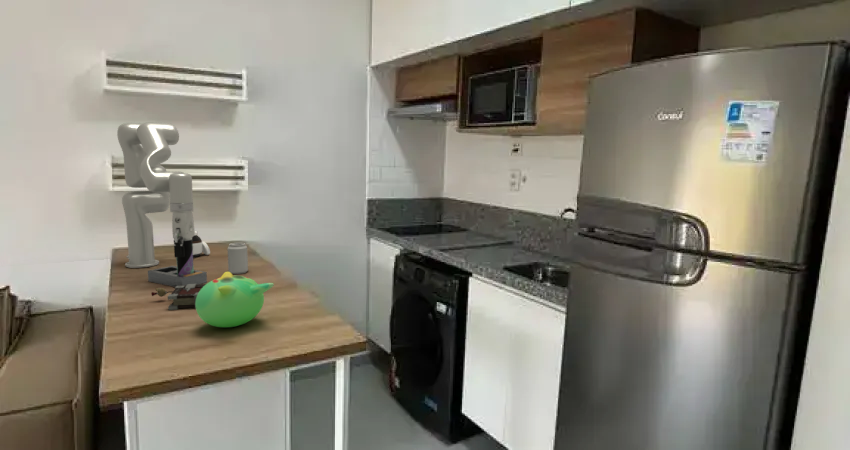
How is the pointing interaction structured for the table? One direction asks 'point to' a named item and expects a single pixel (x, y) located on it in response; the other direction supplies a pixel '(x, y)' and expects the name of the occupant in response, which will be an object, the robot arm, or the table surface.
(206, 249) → the spread jar
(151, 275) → the grey rectangular grid frame
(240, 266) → the can
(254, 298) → the toy bird
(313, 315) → the table surface
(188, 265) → the spray can
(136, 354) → the table surface
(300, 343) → the table surface
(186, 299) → the dark layered knobbed device
